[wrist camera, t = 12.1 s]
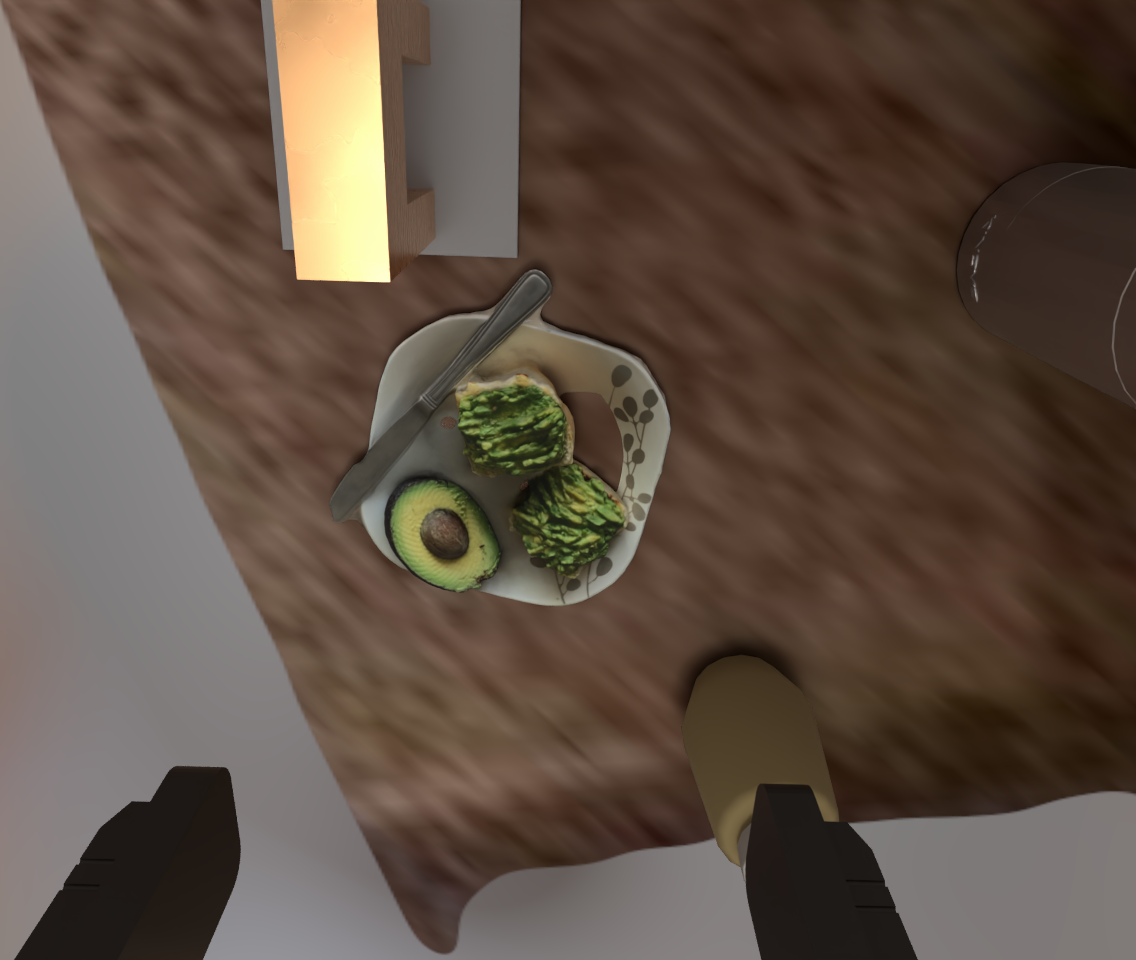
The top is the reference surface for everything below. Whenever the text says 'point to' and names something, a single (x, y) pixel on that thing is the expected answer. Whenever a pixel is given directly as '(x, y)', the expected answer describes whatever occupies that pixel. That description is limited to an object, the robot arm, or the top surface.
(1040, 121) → the top surface
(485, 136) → the mat
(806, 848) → the robot arm
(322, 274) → the link
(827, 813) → the squeeze bottle
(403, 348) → the salad plate
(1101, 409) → the top surface
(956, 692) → the top surface
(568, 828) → the top surface
